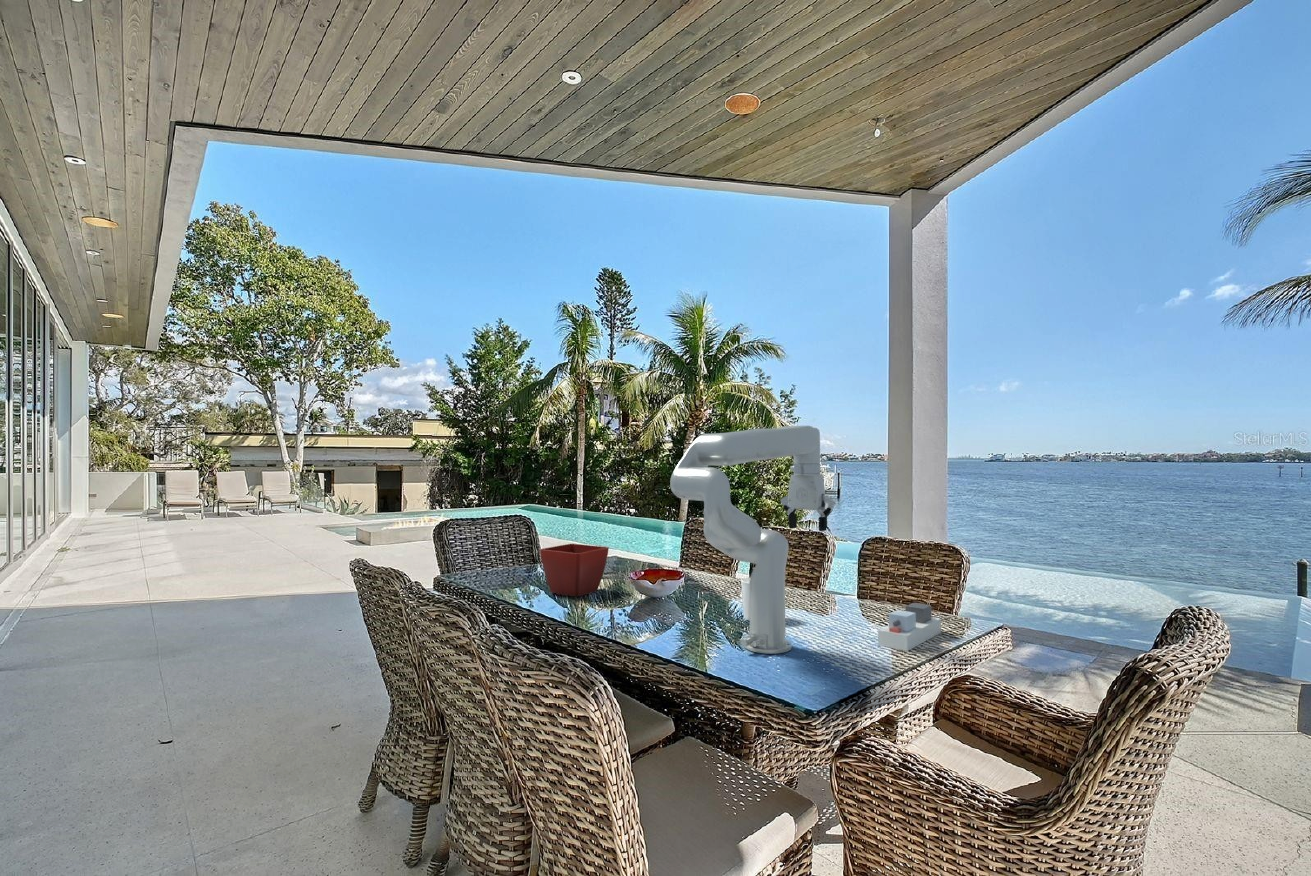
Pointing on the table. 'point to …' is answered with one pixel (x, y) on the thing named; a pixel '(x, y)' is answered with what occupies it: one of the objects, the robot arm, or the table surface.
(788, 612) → the table surface
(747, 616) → the candle holder
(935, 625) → the power strip
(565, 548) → the plant pot
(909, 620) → the grey plug
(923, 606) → the dark grey block
